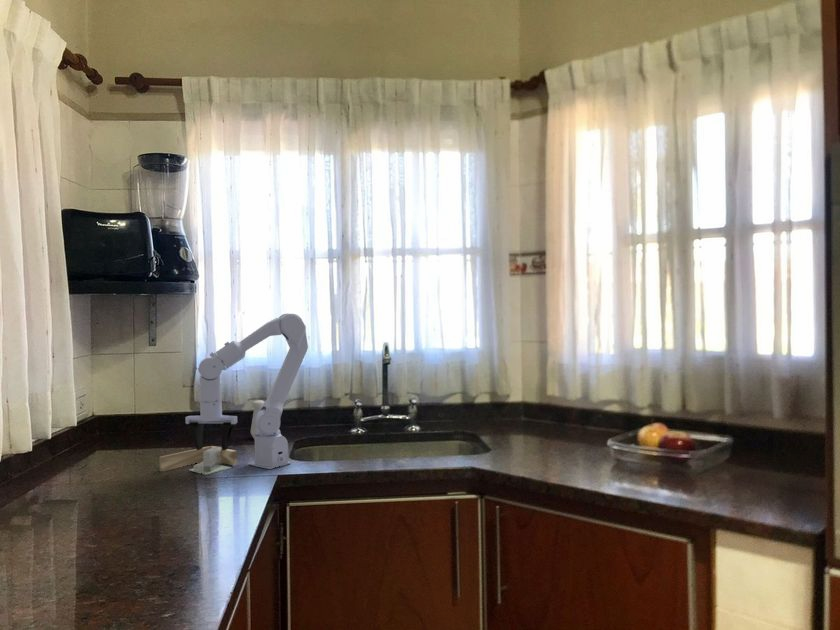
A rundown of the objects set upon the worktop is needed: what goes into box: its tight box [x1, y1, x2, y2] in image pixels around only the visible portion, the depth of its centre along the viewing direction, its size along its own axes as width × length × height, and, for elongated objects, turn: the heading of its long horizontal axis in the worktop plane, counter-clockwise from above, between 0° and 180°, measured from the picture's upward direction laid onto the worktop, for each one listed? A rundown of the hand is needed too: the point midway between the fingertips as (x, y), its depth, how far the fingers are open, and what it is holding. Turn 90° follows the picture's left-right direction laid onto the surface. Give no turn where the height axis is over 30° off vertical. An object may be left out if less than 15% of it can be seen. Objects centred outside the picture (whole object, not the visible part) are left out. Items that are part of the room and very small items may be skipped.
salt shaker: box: [250, 399, 265, 440], centre depth 217 cm, size 6×6×13 cm
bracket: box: [193, 446, 222, 472], centre depth 175 cm, size 6×5×6 cm
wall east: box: [158, 445, 212, 472], centre depth 180 cm, size 1×16×4 cm, turn 143°
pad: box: [189, 464, 232, 476], centre depth 175 cm, size 8×8×1 cm
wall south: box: [210, 445, 238, 466], centre depth 183 cm, size 12×1×4 cm, turn 52°
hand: (212, 449), depth 175 cm, fingers open, 7 cm apart
